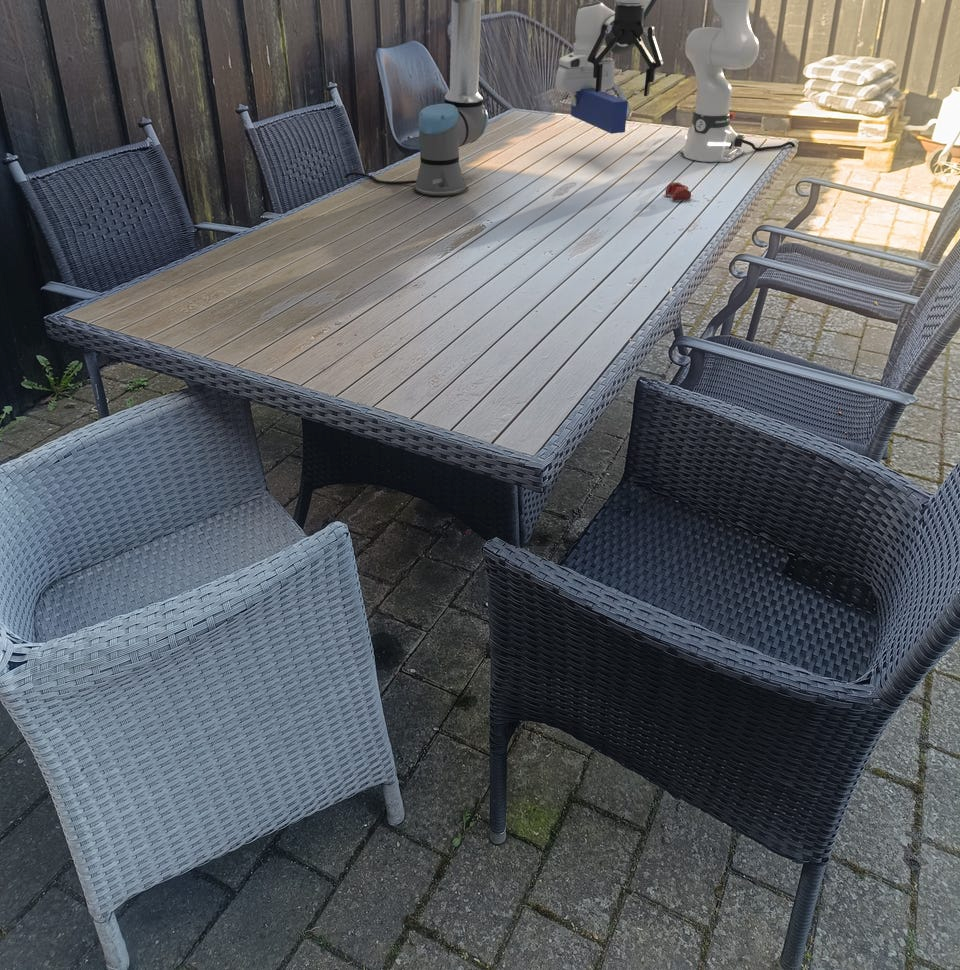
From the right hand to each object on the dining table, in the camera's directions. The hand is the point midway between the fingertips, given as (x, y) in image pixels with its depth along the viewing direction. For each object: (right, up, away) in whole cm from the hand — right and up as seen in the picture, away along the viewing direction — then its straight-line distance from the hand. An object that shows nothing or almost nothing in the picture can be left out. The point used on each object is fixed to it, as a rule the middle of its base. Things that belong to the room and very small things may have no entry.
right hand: (583, 104), depth 281 cm
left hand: (+4, -20, -51) cm, 55 cm away
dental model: (+25, -41, -29) cm, 56 cm away
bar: (+4, -8, -5) cm, 11 cm away
